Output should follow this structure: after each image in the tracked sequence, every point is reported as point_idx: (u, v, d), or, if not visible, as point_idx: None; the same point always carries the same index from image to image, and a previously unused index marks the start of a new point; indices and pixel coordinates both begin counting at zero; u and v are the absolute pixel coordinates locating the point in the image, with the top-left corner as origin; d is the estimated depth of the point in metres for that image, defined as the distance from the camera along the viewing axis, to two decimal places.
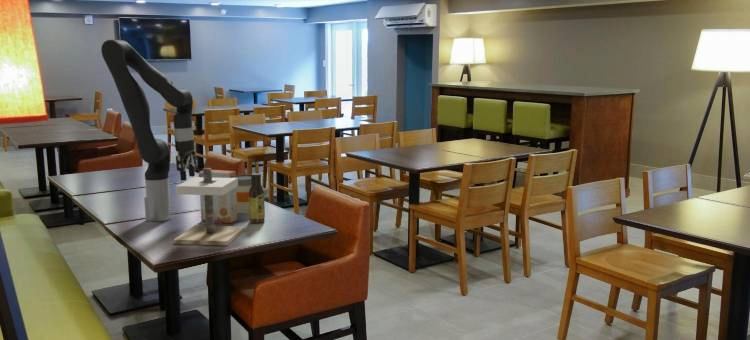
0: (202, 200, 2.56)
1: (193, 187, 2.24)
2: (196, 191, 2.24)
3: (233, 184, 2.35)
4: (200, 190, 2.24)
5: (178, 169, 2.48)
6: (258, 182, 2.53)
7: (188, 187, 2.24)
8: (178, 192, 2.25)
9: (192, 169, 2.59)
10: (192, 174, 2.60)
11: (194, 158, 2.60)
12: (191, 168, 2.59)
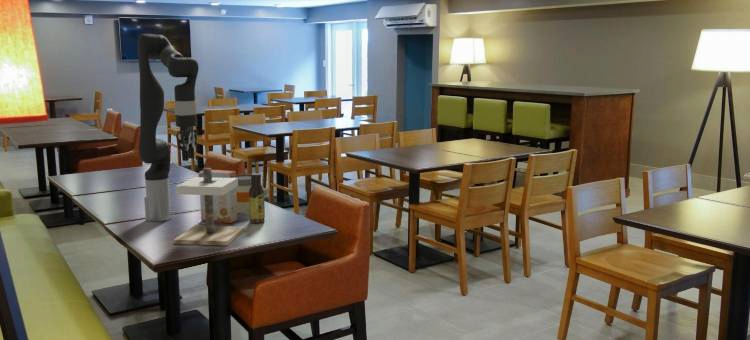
0: (202, 200, 2.56)
1: (193, 187, 2.24)
2: (196, 191, 2.24)
3: (233, 184, 2.35)
4: (200, 190, 2.24)
5: (180, 148, 2.25)
6: (258, 182, 2.53)
7: (188, 187, 2.24)
8: (178, 192, 2.25)
9: (192, 150, 2.33)
10: (191, 156, 2.33)
11: (195, 138, 2.34)
12: (190, 149, 2.33)
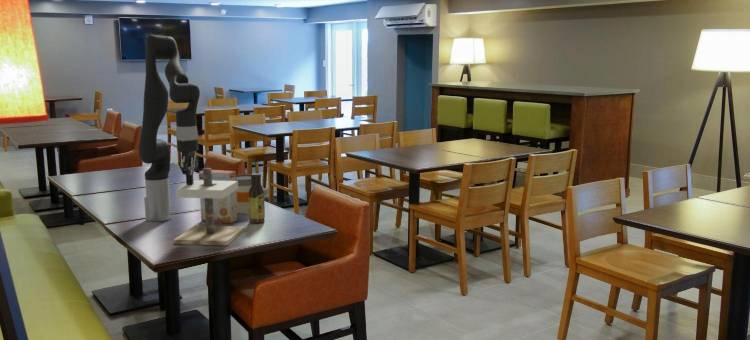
0: (202, 200, 2.56)
1: (193, 190, 2.24)
2: (196, 194, 2.24)
3: (233, 187, 2.35)
4: (200, 194, 2.24)
5: (184, 172, 2.29)
6: (258, 182, 2.53)
7: (188, 190, 2.24)
8: (178, 195, 2.25)
9: None
10: None
11: (195, 164, 2.35)
12: None
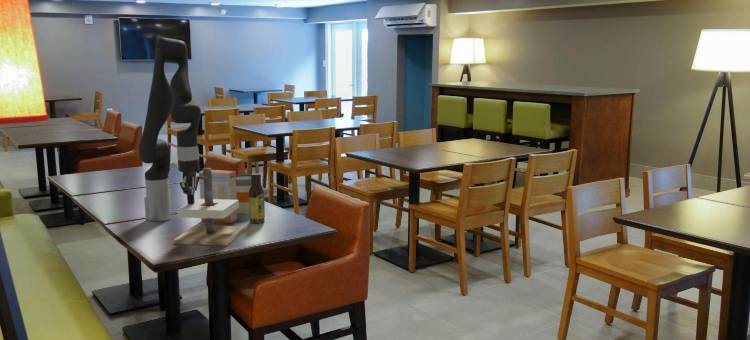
0: None
1: (194, 210, 2.25)
2: (197, 214, 2.25)
3: (234, 207, 2.36)
4: (201, 214, 2.25)
5: (185, 192, 2.30)
6: (258, 182, 2.53)
7: (189, 210, 2.25)
8: (179, 215, 2.26)
9: None
10: None
11: (196, 183, 2.36)
12: None
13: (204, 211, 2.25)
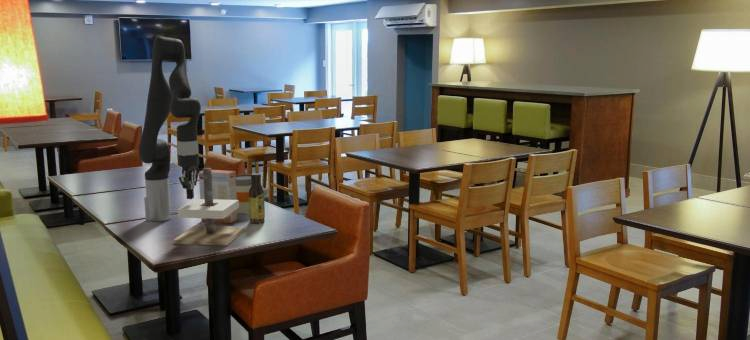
0: None
1: (194, 210, 2.25)
2: (197, 214, 2.25)
3: (234, 207, 2.36)
4: (201, 214, 2.25)
5: (184, 187, 2.30)
6: (258, 182, 2.53)
7: (189, 210, 2.25)
8: (179, 215, 2.26)
9: None
10: None
11: (195, 178, 2.36)
12: None
13: (204, 211, 2.25)
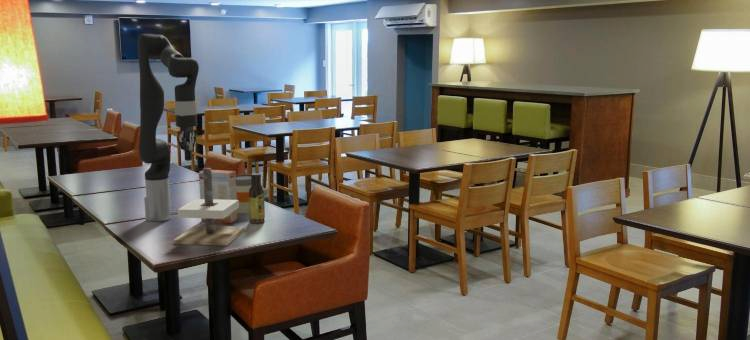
0: None
1: (194, 210, 2.25)
2: (197, 214, 2.25)
3: (234, 207, 2.36)
4: (201, 214, 2.25)
5: (182, 148, 2.27)
6: (258, 182, 2.53)
7: (189, 210, 2.25)
8: (179, 215, 2.26)
9: None
10: None
11: (194, 139, 2.33)
12: None
13: (204, 211, 2.25)
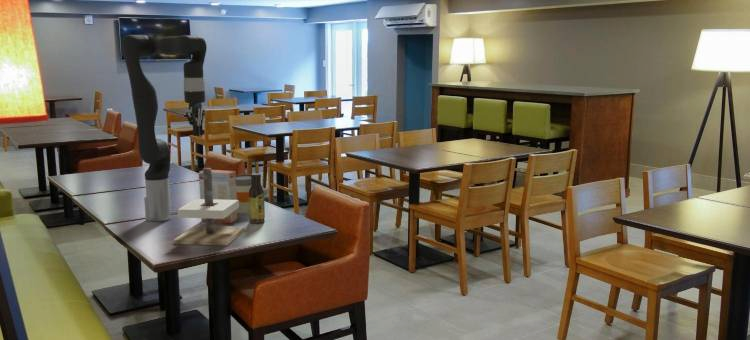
0: None
1: (194, 210, 2.25)
2: (197, 214, 2.25)
3: (234, 207, 2.36)
4: (201, 214, 2.25)
5: (191, 123, 2.34)
6: (258, 182, 2.53)
7: (189, 210, 2.25)
8: (179, 215, 2.26)
9: None
10: None
11: (202, 116, 2.40)
12: None
13: (204, 211, 2.25)
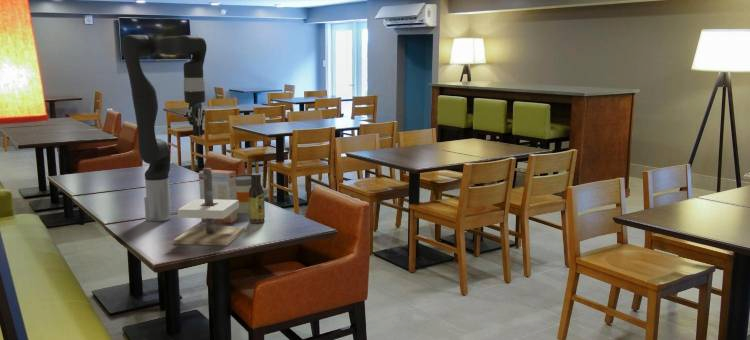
0: None
1: (194, 210, 2.25)
2: (197, 214, 2.25)
3: (234, 207, 2.36)
4: (201, 214, 2.25)
5: (191, 123, 2.34)
6: (258, 182, 2.53)
7: (189, 210, 2.25)
8: (179, 215, 2.26)
9: None
10: None
11: (202, 116, 2.40)
12: None
13: (204, 211, 2.25)
